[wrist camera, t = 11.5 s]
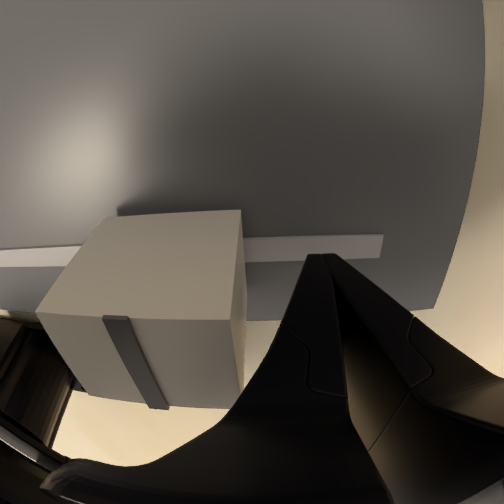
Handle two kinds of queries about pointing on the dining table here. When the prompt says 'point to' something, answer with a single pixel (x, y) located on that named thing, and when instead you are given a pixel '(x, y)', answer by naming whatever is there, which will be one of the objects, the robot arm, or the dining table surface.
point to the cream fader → (155, 310)
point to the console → (242, 132)
